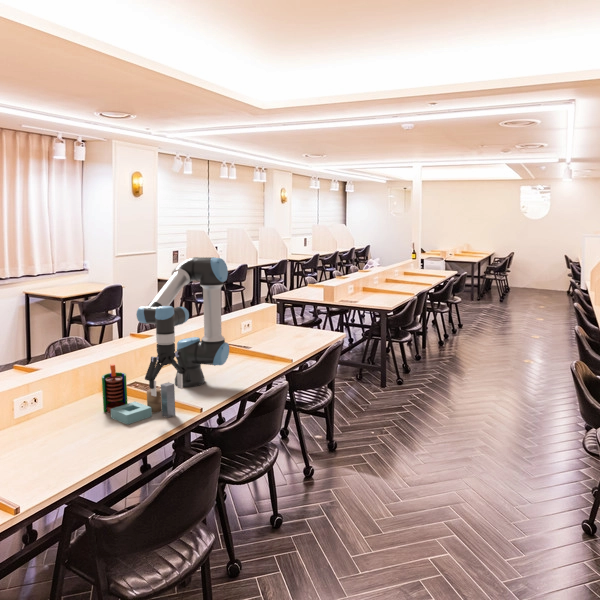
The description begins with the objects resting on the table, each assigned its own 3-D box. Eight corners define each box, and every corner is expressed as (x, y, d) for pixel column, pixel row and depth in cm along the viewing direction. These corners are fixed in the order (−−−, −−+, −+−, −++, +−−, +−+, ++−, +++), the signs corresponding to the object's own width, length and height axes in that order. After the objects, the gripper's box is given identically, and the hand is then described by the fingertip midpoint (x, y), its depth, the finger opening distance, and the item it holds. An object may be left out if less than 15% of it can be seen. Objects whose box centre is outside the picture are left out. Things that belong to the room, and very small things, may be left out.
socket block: (135, 410, 236) (135, 401, 236) (151, 416, 229) (151, 407, 228) (111, 417, 227) (110, 408, 227) (127, 424, 220) (126, 415, 219)
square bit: (169, 413, 232) (168, 382, 230) (175, 415, 230) (174, 384, 228) (162, 416, 229) (160, 384, 227) (167, 418, 227) (166, 386, 225)
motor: (106, 414, 231) (104, 369, 228) (100, 408, 238) (97, 365, 235) (130, 409, 237) (127, 366, 234) (123, 404, 244) (121, 361, 241)
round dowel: (156, 407, 240) (155, 387, 239) (164, 410, 236) (163, 390, 235) (144, 411, 235) (143, 391, 234) (153, 414, 232) (152, 394, 230)
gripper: (183, 337, 237) (185, 383, 240) (134, 346, 218) (136, 397, 220) (194, 339, 232) (195, 386, 235) (145, 349, 213) (147, 400, 216)
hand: (167, 392), depth 228 cm, fingers open, 13 cm apart
